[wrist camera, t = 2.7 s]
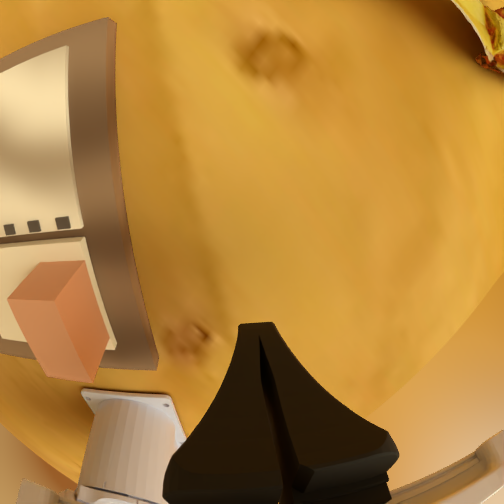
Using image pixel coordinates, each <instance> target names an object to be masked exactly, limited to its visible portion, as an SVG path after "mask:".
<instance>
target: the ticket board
mask: <svg viewBox="0 0 504 504" xmlns="http://www.w3.org/2000/svg"><path fill="white" fill-rule="evenodd" d="M116 24H117V23H115V22H114V21H113V20H111V19H110V18H109V17H106V18H103V19H99V20H96V21H92V22H89V23H85V24H82V25H79V26H76V27H73V28H70V29H67V30H65V31H62V32H59V33H56V34H54V35H51V36H49V37H46V38H44V39H41V40H39V41H37V42H34V43H32V44H30V45H28V46H25V47H23V48H21V49H19V50H17V51H15V52H13V53H11V54H9V55H7V56H5V57H3V58H1V59H0V244H7V243H17V242H28V241H38V240H49V239H61V238H73V237H85V239H86V243H87V247H88V251H89V255H90V259H91V263H92V267H93V271H94V274H95V278H96V281H97V285H98V288H99V292H100V295H101V298H102V301H103V304H104V307H105V310H106V313H107V316H108V319H109V322H110V325H111V328H112V331H113V334H114V336H115V339H116V342H117V345H116V348H115V350H105V351H104V354H103V357H102V359H101V362H100V365H99V367H101V368H114V369H132V370H157V366H158V361H159V356H158V352H157V349H156V345H155V342H154V338H153V335H152V331H151V328H150V324H149V320H148V316H147V312H146V308H145V304H144V300H143V296H142V292H141V288H140V283H139V279H138V274H137V269H136V265H135V260H134V255H133V249H132V244H131V239H130V233H129V227H128V221H127V215H126V208H125V201H124V194H123V186H122V178H121V169H120V160H119V149H118V137H117V122H116V100H115V44H116ZM0 353H2V354H7V355H12V356H17V357H22V358H28V359H34V360H37V359H36V357H35V355H34V354H33V352H32V350H31V348H30V346H29V344H28V343H27V342H22V341H15V340H8V339H2V337H1V335H0Z"/></svg>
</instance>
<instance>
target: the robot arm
mask: <svg viewBox="0 0 504 504" xmlns="http://www.w3.org/2000/svg"><path fill="white" fill-rule="evenodd" d="M81 395H82V396H83V398H84V399H85V401H86V402H87V404H88V405H89V407H90V408H91V410H92V411H93V413H94V414H95V417H94V420H93V424H92V427H91V431H90V435H89V439H88V443H87V447H86V451H85V455H84V459H83V464H82V468H81V473H80V477H79V482H78V487H77V488H76V490H75V491H72V490H70V489H66V490H65V491H62V492H59V494H57V493H56V492H54V491H52V490H51V489H48V488H47V487H45V486H42V485H40V484H37V483H34V482H32V481H30V480H27V479H25V478H23V479H22V482H21V486H20V490H19V494H18V498H17V502H16V504H278V502H279V504H481V503H483V502H484V501H486V500H487V499H488V498H489V497H491V496H492V495H493V494H495V493H496V492H497V491H498V490H500V489H501V488H502V487H503V486H504V430H501V431H500V432H498V433H497V434H495V435H494V436H492V437H491V438H489V439H488V440H486V441H485V442H484V443H483V444H481V445H480V446H479V447H478V448H477V449H476V451H474V452H473V453H471V454H469V455H468V456H466V457H464V458H462V459H460V460H459V461H457V462H455V463H453V464H451V465H449V466H447V467H445V468H443V469H441V470H439V471H437V472H435V473H433V474H431V475H429V476H426V477H424V478H422V479H420V480H417V481H415V482H412V483H410V484H407V485H405V486H403V487H400V488H397V489H395V490H392V491H389V489H388V486H387V483H386V482H388V481H389V478H388V475H387V471H388V470H389V468H391V467H392V465H393V464H394V463H395V462H396V461H397V459H398V458H399V452H398V449H397V447H396V445H395V443H394V441H393V439H392V438H391V436H390V435H389V433H388V431H386V430H384V429H382V428H380V427H378V426H376V425H374V424H372V423H370V422H369V421H367V420H365V419H364V418H362V417H361V416H359V415H357V414H356V413H354V412H353V411H351V410H350V409H349V408H347V407H346V406H345V405H343V404H342V403H341V402H339V401H338V400H337V399H335V398H334V397H333V396H332V395H331V394H330V393H329V392H327V391H326V390H325V389H324V388H323V387H322V386H321V385H320V384H319V383H318V382H317V381H316V380H315V379H314V378H313V377H312V376H311V375H310V374H309V373H308V371H307V370H306V369H305V368H304V367H303V366H302V365H301V363H300V362H299V361H298V360H297V358H296V357H295V356H294V354H293V353H292V352H291V350H290V349H289V347H288V346H287V345H286V343H285V341H284V340H283V338H282V337H281V335H280V334H279V332H278V330H277V328H276V326H275V324H274V323H273V322H262V323H246V324H240V325H239V326H238V337H237V342H236V346H235V350H234V353H233V357H232V360H231V363H230V366H229V368H228V371H227V373H226V375H225V378H224V380H223V382H222V385H221V387H220V389H219V391H218V393H217V395H216V397H215V398H214V400H213V402H212V404H211V405H210V407H209V409H208V410H207V412H206V413H205V415H204V417H203V418H202V420H201V421H200V422H199V424H198V425H197V426H196V428H195V429H194V430H193V432H192V433H191V434H190V436H189V437H188V438H186V435H185V433H184V430H183V428H182V425H181V423H180V420H179V418H178V415H177V412H176V410H175V407H174V404H173V402H172V399H171V397H170V396H168V395H163V394H140V393H125V392H113V391H103V390H94V389H86V388H83V389H82V391H81Z"/></svg>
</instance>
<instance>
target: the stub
mask: <svg viewBox="0 0 504 504" xmlns="http://www.w3.org/2000/svg"><path fill="white" fill-rule="evenodd" d="M0 335H1V337H2V339H8V340H15V341H22V342H27V343H28V344H29V346H30V348H31V350H32V352H33V354H34V355H35V357H36V359H37V361H38V362H39V364H40V366H41V367H42V369H43V371H44V372H45V374H46V376H47V377H52V378H58V379H65V380H72V381H79V382H87V383H93V381H94V378H95V376H96V373H97V370H98V367H99V365H100V362H101V359H102V357H103V354H104V351H105V350H115V348H116V345H117V342H116V339H115V336H114V334H113V331H112V328H111V325H110V322H109V319H108V316H107V313H106V310H105V307H104V304H103V301H102V298H101V295H100V292H99V288H98V285H97V281H96V278H95V274H94V271H93V267H92V263H91V259H90V255H89V251H88V247H87V243H86V239H85V237H73V238H61V239H49V240H38V241H28V242H17V243H7V244H0Z"/></svg>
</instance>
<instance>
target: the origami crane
mask: <svg viewBox="0 0 504 504" xmlns="http://www.w3.org/2000/svg"><path fill="white" fill-rule="evenodd" d="M451 1H453V3H454V4H455V5H456V6H457V8H458V9H460V10H461V12H462V13H463V15H464V16H465V17H466V19H467V20H468V22H469V23H470V24H472V26H473V28H474V30H475V31H476V33H477V34H478V35H479V38H480V39H481V41H482V43H483V46H484V48H485V52H486V54H487V56H483V57H484V58H485V60H486V63H484V65H482V61H481V55H482V54H481V53H482V52H481V53H480V54H479V55H480V56H477V58H476V61H477V62H478V63H479V64H480V65H481V66H482V67H483V68H487V69H490V70H493V71H495V72H498V73H500V72H499V71H498V70H497V69H494V68H489V65H490V66H496V67H497V68H498V69H499V70H501V71H502V72H504V7H503V8H500V9H497V10H495V11H493V10H491V9H490V8H489V7H485V6H484V5H483V4H482V3H481V2H480V0H451ZM500 74H501V73H500ZM503 74H504V73H503Z"/></svg>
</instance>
